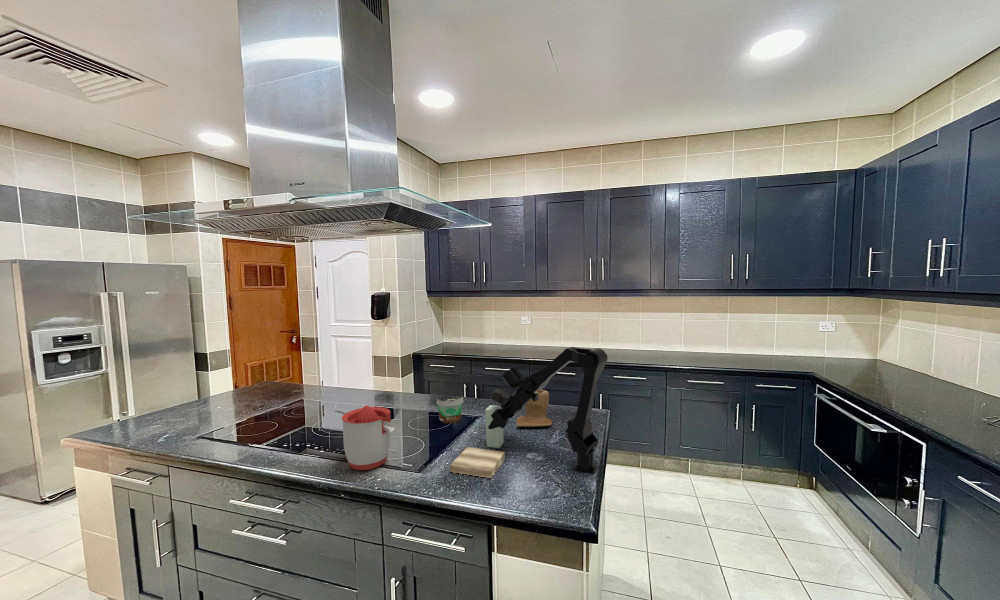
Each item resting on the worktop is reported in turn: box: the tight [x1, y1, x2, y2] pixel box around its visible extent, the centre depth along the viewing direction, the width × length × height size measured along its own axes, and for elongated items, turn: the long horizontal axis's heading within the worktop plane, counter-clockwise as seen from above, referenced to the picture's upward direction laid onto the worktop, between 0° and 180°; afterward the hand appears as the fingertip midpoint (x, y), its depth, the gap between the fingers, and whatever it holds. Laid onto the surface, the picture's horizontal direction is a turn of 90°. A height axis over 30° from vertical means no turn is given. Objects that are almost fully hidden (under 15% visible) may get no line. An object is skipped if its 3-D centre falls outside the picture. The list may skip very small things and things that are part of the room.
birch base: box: [449, 446, 506, 479], centre depth 127 cm, size 14×14×2 cm
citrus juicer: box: [341, 405, 396, 471], centre depth 130 cm, size 16×17×20 cm
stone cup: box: [515, 389, 553, 428], centre depth 163 cm, size 15×12×15 cm
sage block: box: [484, 404, 505, 449], centre depth 143 cm, size 5×5×14 cm
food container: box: [435, 396, 464, 424], centre depth 168 cm, size 12×6×10 cm, turn 114°
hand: (491, 425), depth 143 cm, fingers closed on sage block, 5 cm apart
